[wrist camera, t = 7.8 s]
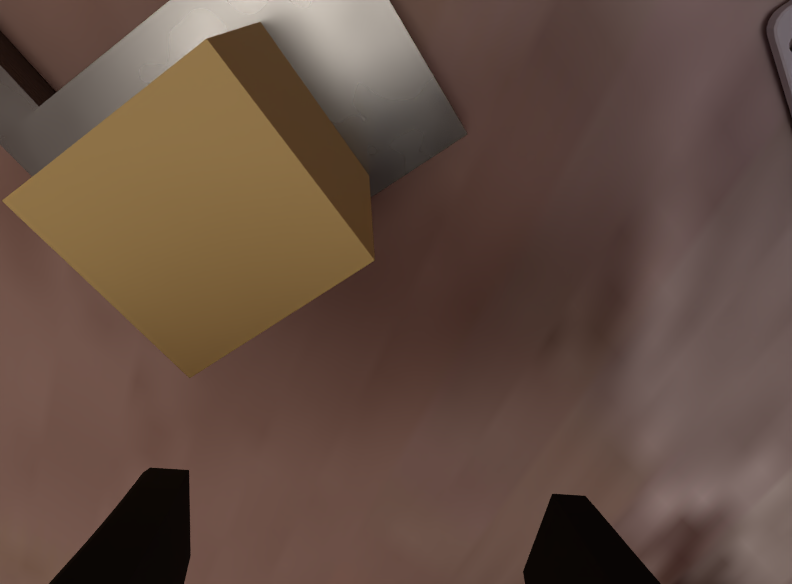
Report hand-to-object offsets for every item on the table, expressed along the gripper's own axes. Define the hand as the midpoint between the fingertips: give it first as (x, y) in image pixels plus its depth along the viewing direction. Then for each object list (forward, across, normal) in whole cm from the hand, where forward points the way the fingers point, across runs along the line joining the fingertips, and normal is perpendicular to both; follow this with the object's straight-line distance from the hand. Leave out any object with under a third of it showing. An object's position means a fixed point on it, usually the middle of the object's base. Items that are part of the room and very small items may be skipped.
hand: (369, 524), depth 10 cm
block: (+8, +4, -4) cm, 10 cm away
